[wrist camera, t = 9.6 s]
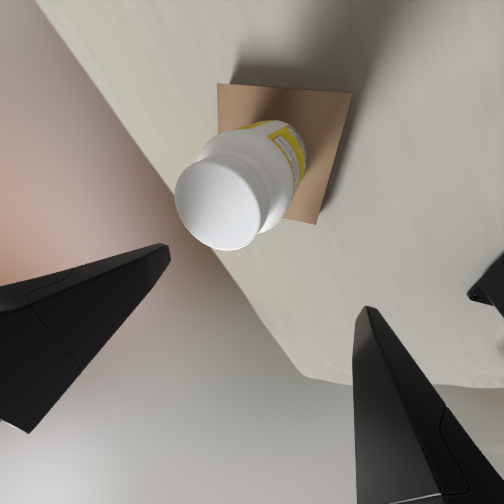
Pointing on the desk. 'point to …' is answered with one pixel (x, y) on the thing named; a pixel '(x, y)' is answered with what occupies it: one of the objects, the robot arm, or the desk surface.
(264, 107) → the base plate
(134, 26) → the desk surface
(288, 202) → the supplement bottle
